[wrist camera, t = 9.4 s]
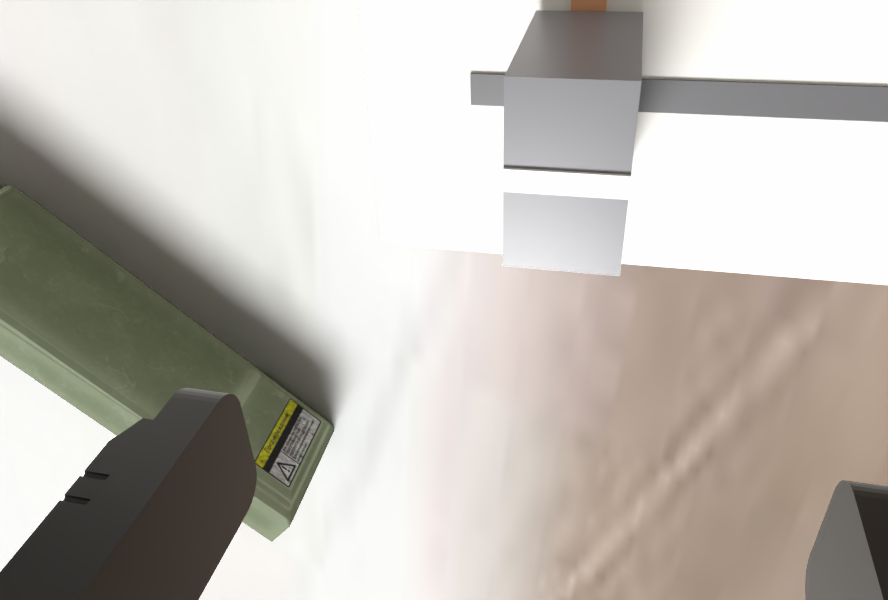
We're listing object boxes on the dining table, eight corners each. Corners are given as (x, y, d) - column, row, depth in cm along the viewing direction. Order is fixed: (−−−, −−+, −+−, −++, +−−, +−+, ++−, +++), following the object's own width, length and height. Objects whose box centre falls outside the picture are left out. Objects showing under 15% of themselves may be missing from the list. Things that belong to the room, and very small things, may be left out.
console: (1610, -168, 17) (1771, -159, 15) (1299, 270, 24) (1373, 326, 22) (376, -136, 23) (344, -126, 21) (402, 207, 30) (380, 245, 28)
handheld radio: (310, 449, 40) (-116, 137, 35) (345, 419, 39) (-98, 85, 33) (261, 549, 35) (-255, 198, 29) (299, 520, 33) (-242, 140, 27)
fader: (643, 12, 21) (641, 82, 16) (625, 175, 24) (619, 278, 19) (536, 10, 22) (503, 77, 17) (531, 170, 24) (502, 268, 20)
